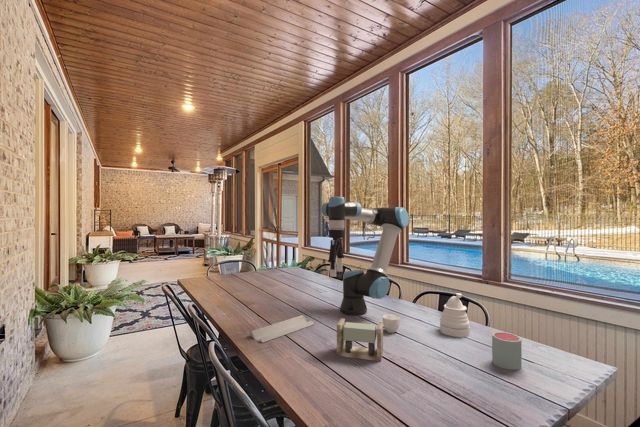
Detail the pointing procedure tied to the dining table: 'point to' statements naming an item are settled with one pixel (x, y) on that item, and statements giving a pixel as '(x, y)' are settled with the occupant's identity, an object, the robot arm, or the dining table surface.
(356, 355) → the frame
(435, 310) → the dining table surface
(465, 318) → the honey pot
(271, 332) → the crown molding
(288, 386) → the dining table surface
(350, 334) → the pale green block
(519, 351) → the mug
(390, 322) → the cup
